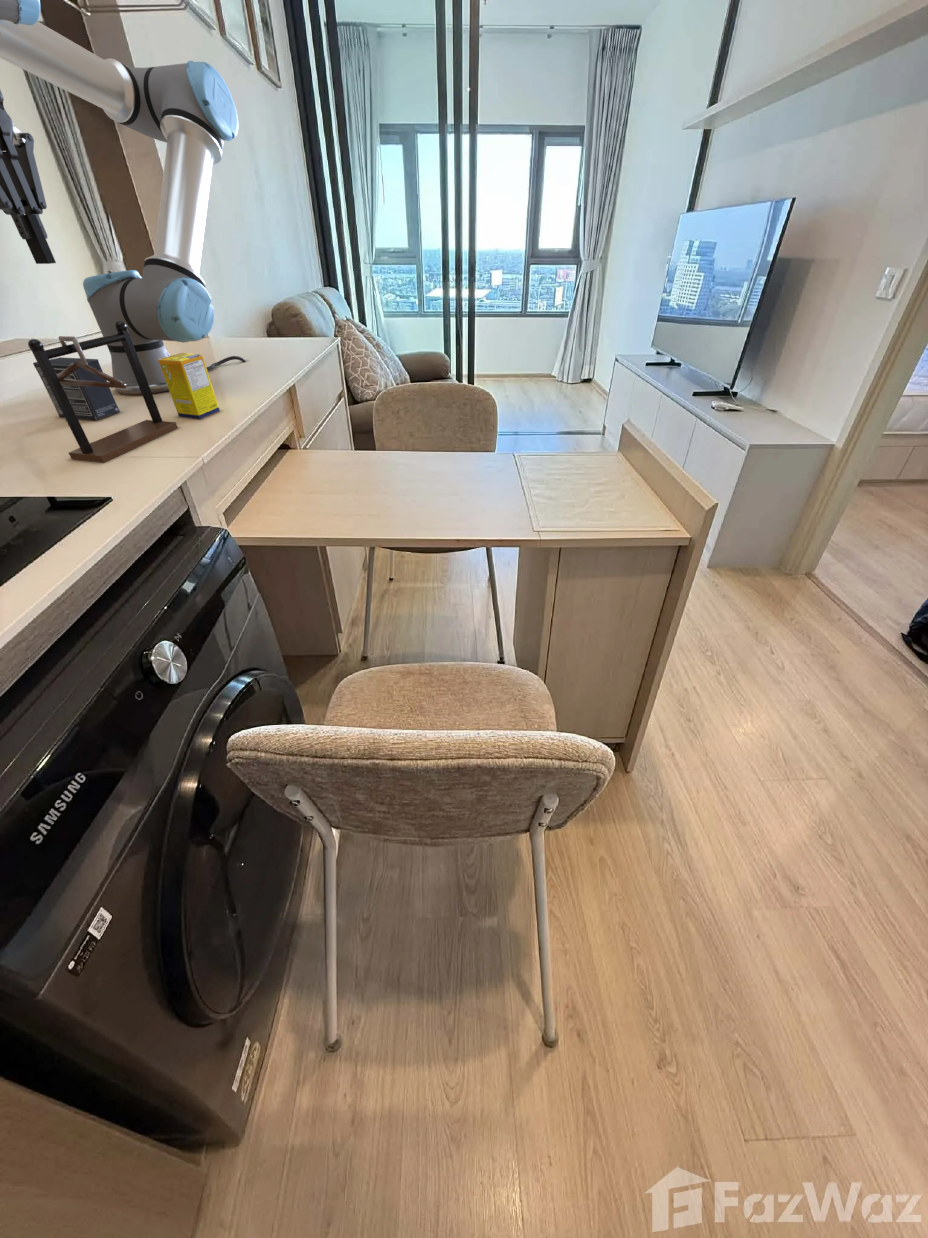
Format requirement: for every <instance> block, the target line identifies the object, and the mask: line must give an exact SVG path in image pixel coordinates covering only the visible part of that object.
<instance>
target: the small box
mask: <svg viewBox="0 0 928 1238" xmlns="http://www.w3.org/2000/svg"><path fill="white" fill-rule="evenodd" d="M49 360H50V362H51V364H52V366H53V368H54V371H55V373H56V375H58V374H59V373H61V372H62V371H63V370H65V369H66V368H68V367H69V366H70V365H72V364H73V363H74V362H76V361H81V359H80V357H63V356H60V357H56V358H52V359H49ZM86 361H87V363H88V365H89V366H91V367H93V368H95V369H97V370H99V371H101V372H103V373H104V371H103V369H102V367H101V364H100V361H99V359H98V358H86ZM81 362H82V361H81ZM32 364H33V366H34V369H35V370H36V372H37V373H38V376H39V377H40V379H41V382H42V383H43V386H44V387H45V390H46V392H47V394H48V396H49V398H50V400H51V402H52V405H53V407H54V408H55V410H56V413H57V415H58V417H59V418H63V419H64V418H65V417H64V415H63V413H62V411H61V409H60V407H59V405H58V403H57V401H56V399H55V397H54V395H53V393H52V391H51V389H50V387H49V385H48V383H47V381H46V379H45V377H44V375H43V373H42V371H41V369H40V367H39V365H38V363H37V361H35V362H33V363H32ZM64 379H65V380H82V381H98V382H108V381H106V380H104V379H102V378H100V377H98V376H96V375H94V374H92V373H90V372H88V371H86V370H84V369H82V368H79V369H77V370H76V371H74V372H73V373H71V374H70V375H69V376H67V377H66V378H64ZM61 385H62V387H63V389H64V391H65V393H66V395H67V397H68V400H69V402H70V404H71V406H72V408H73V410H74V412H75V414H76V416H77V418H78V420H87V421H98V420H101V419H104V418H107V417H109V416H112V415H115V414H118V413H120V412H121V411H120V409H119V406H118V404H117V402H116V400H115V398H114V394H113V393H112V390H111V388H110V387H94V386H78V385H63V384H61Z"/></svg>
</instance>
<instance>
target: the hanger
mask: <svg viewBox="0 0 928 1238" xmlns="http://www.w3.org/2000/svg"><path fill="white" fill-rule="evenodd" d="M58 341H59V343H60V345H61V346H66V345H68V344H67V342H72V344H74V346H75V348H76V350H77V352H76V353H77V355H78V358H80V359H81V361H82V362H81V361H76V362H74V363H73V364H72V365H70V366H69V367H68V368H66V369H65V370H63V371H62V372H61V373H59V374H58V375H57V377H58V379H59V381H60V383H61V384H63V385H78V386H94V387H109V388H110V389H111V388H112V389H116V388H123V389H125V388H126V384H125V383H123V382H121V381H119V380H117V379H115V378H113V376H112V375H110V374H108V373H107V374H106V373H105V372H104V371H103V372H101V371H99V370H97V369H95V368H93V367H91V366H89V365H88V363H87V361H86V359H87V358H86V356H85V354H84V352H83V351H82V349H81V347H80V345H79V343H78V342H79V340H78V338H77V336H73V335H72V336H71V335H70V336H68V335H59V336H58ZM79 368H82V369H84V370H86V371H88V372H90V373H92V374H94V375H96V376H98V377H100V378H102V379H104V380H106V381H107V382H98V381H82V380H65V379H64V378H66V377H67V376H69V375H70V374H71V373H73V372H74V371H76V370H77V369H79Z"/></svg>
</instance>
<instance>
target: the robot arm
mask: <svg viewBox="0 0 928 1238" xmlns="http://www.w3.org/2000/svg"><path fill="white" fill-rule="evenodd" d="M40 17H41V0H0V59H1V60H4V61H6V62H8V63H9V64H12V65H13V66H15V67H18V68H20V69H22V70H24V71H25V72H27V73H30V74H32V75H34V76H36V77H37V78H40V79H42V80H43V81H46V82H48V83H50V84H52V85H54V86H55V87H58V88H60V89H61V90H64V91H66V92H68V93H70V94H72V95H74V96H76V97H78V98H80V99H82V100H84V101H86V102H88V103H91V104H92V105H94V106H97V107H98V108H100V109H102V110H103V112H104V113H105V114H106V116H107V117H108V118H109V119H111V120H112V121H113V122H116V123H118V124H119V125H122V126H124V127H126V128H128V129H130V130H132V131H135V132H137V133H139V134H142V135H144V136H146V137H149V138H151V139H154V140H157V141H159V142H164V143H166V149H165V158H164V166H163V172H162V173H163V175H162V182H161V191H160V198H159V199H160V200H159V208H158V216H157V217H158V218H157V224H156V225H157V226H156V233H155V234H156V235H155V242H154V251H153V255H151V256H148V257H145V258H144V262H143V268H142V276H141V275H140V273H139V271H137V270H136V269H130V270H129V269H128V270H120V271H114V272H107V273H102V274H96V275H91V276H87V277H85V278H84V279H83V281H82V287H83V290H84V292H85V296H86V301H87V302H88V305H89V308H90V310H91V311H92V314H93V316H94V318H95V322H96V324H97V326H98V327H99V330H100V332H101V335H102V337H104V336H108V335H113V334H117V333H118V332H117V330H116V328H115V323H116V322H117V321H122V322H124V323H125V324H126V326H127V330H128V332H129V335H130V337H131V340H132V343H133V345H134V348H135V350H136V353H137V356H138V358H139V361H140V363H141V366H142V369H143V371H144V374H145V377H146V379H147V382H148V384H149V387H150V390H151V392H152V394H158V393H163V392H164V393H165V392H170V391H169V389H168V386H167V383H166V380H165V378H164V375H163V372H162V369H161V367H160V364H159V361H158V359H161V358H165V357H168V356H171V354H170V353H169V351H168V350H167V349H166V345H165V343H164V341H166V342H167V341H168V342H179V343H189V342H198V341H201V340H203V339H205V338H207V336H208V335H209V334H210V332H211V331H212V329H213V325H214V321H215V308H214V305H213V304H212V301H213V300H212V297H211V295H210V293H209V292H208V290H207V289H206V282H205V281H204V279H203V278H202V276H201V275H200V269H201V262H202V254H203V245H204V237H205V230H206V222H207V214H208V206H209V197H210V188H211V182H212V181H211V180H212V173H213V166H214V165H217V164H219V163H220V162H221V160H222V157H223V150H224V144H225V141H227V142H231V141H232V140H233V139H235V138H236V137H237V135H238V133H239V118H238V112H237V108H236V104H235V102H234V99H233V96H232V94H231V91H230V89H229V87H228V85H227V83H226V82H225V79H224V78H223V77H222V75H221V74H220V73H219V71H217V69H216V68H215V67H214V66H212V65H211V64H210V63H207V62H205V61H193V60H188V61H187V62H184V63H183V62H182V63H175V64H167V65H158V66H157V65H156V66H149V67H148V66H147V67H137V66H136V67H135V66H130V65H126V64H124V63H122V62H120V61H119V60H117V59H115V58H112V57H110V58H105V59H104V58H102V57H100V56H98V55H97V54H95V53H93V52H91V51H89V50H87V49H86V48H84V47H83V46H82V45H79V44H78V43H75V42H74V41H73V40H71V39H69V38H68V37H66V36H64V35H62V34H60V33H59V32H57V31H56V30H53V29H51V28H50V27H48V26H47V25H44V24H43V23H41V22H40V21H39V19H40ZM3 95H4V94H3V93H2V90H1V89H0V210H1V211H2V212H3V213H4V214H5V215H7V216H10V217H11V218H12V221H13V223H14V225H15V228H16V229H17V232H18V234H19V236H20V237H21V239H22V240H25V242H26V244H27V246H28V249H29V251H30V253H31V255H32V258H33V260H34V262H35V264H36V265H50V264H56V263H57V261H56V259H55V256H54V254H53V252H52V250H51V248H50V246H49V243H48V241H47V239H48V233H47V231H46V228H45V226H44V224H43V221H42V219H41V217H40V215H43V213H44V211H43V210H47V207H48V205H47V201H46V197H45V194H44V189H43V185H42V180H41V176H40V173H39V169H38V166H37V161H36V157H35V153H34V148H35V147H34V146H35V145H34V144H35V139H34V137H33V135H32V134H31V133H29V132H23V131H22V130H20V129H19V128H18V127H17V126H16V125H14V124H15V123H14V121H13V119H12V118H11V116H10V115H9V114H8V112H7V111H6V108H5V106H4V98H5V97H4V96H3ZM106 347H107V349H108V352H109V354H110V359H111V370H112V371H111V372H112V377H113V378H115V379H117V380H119V381H121V382H123V383H125V384H126V388H125V389H123V388H115V390H116V392H117V393H118V394H120V395H125V396H127V395H128V396H141V395H142V393H141V390H140V388H139V385H138V383H137V380H136V378H135V375H134V373H133V370H132V368H131V365H130V362H129V360H128V357H127V355H126V352H125V350H124V347H123V345H122V342H121V341H120V342H116V343H112V344H108V345H106ZM234 360H237V361H240V362H242V363H246V362H247V360H246V359H245V358H243V357H241V356H237V355H231V356H227V357H224V358H223V359H220V360H219V361H217V362H213V363H211V364H210V365H209V366H206V368H207V371H208V372H209V371H212V370H214V368H215V367H218V366H221V365H223V364H226V363H228V362H229V361H234ZM142 396H143V395H142Z"/></svg>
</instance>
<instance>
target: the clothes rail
mask: <svg viewBox="0 0 928 1238" xmlns="http://www.w3.org/2000/svg"><path fill="white" fill-rule="evenodd" d="M115 328H116V330H117V332H118V333H117V334H113V335H108V336H104V337H103V336H99V337H96V338H92V339H88V340H82V341H78V343H79V345H80V347H81V349H82V352H83V351H88V350H92V349H96V348H99V347H103V346H107V345H108V344H112V343H116V342H120V341H121V342H122V345H123V347H124V350H125V352H126V355H127V357H128V360H129V362H130V365H131V368H132V370H133V373H134V375H135V378H136V380H137V383H138V385H139V388H140V390H141V393H142V398H143V401H144V402H145V406H146V408H147V411H148V413H149V416H150V418H151V419H145V420H142V421H140V422H138V423H135V424H133V425H131V426H128V427H125V428H123V429H121V430H118V431H116V432H114V433H111V434H109V435H106V436H104V437H102V438H100V439H97V440H95V441H92V442H90V441H89V439H88V437H87V435H86V433H85V430H84V428H83V427H82V424H81V422H80V419H78V418H77V416H76V414H75V412H74V410H73V408H72V406H71V404H70V402H69V400H68V397H67V395H66V393H65V391H64V389H63V387H62V385H61V383H60V381H59V379H58V377H57V375H56V373H55V371H54V368H53V366H52V364H51V362H50V359H55V358H60V357H65V356H67V355H71V354H75V353H78V352H77V350H76V348H75V346H74V343H70V344H67V345H66V346H62V345H61V346H58V347H53V348H49V349H45V347H44V345H43V343H42V341H41V340H39V339H36V338H31V339H29V340H28V342H27V346H28V348H29V350H31V352H32V355H33V356H34V359H35V362H37V363H38V365H39V367H40V369H41V371H42V373H43V375H44V377H45V379H46V381H47V383H48V385H49V387H50V389H51V391H52V393H53V395H54V397H55V399H56V401H57V403H58V405H59V407H60V409H61V411H62V413H63V415H64V417H65V421H66V423H67V425H68V427H69V429H70V431H71V433H72V435H73V437H74V439H75V441H76V443H77V445H78V447H77V448H76V449H73V450H71V451H69V452H68V455H69V457H70V459H71V460H74V461H75V460H76V461H83V462H93V463H94V462H96V463H107V462H109V461H110V460H113V459H115V458H117V457H120V456H122V455H124V454H126V453H128V452H130V451H132V450H135V449H137V448H139V447H141V446H143V445H145V444H147V443H149V442H152V441H154V440H156V439H158V438H160V437H163V436H164V435H166V434H169V433H171V432H173V431H175V430H177V429H179V427H178V424H177V422H176V421H168V420H167V421H165V420H163V418H162V416H161V413H160V411H159V408H158V405H157V403H156V400H155V398H154V394H153V393H152V392H151V390H150V387H149V384H148V382H147V379H146V377H145V374H144V371H143V369H142V366H141V363H140V361H139V358H138V356H137V353H136V350H135V348H134V345H133V343H132V340H131V337H130V335H129V332H128V330H127V326H126V324H125V323H124V322H122V321H117V322H116V323H115ZM64 417H63V418H64Z"/></svg>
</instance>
